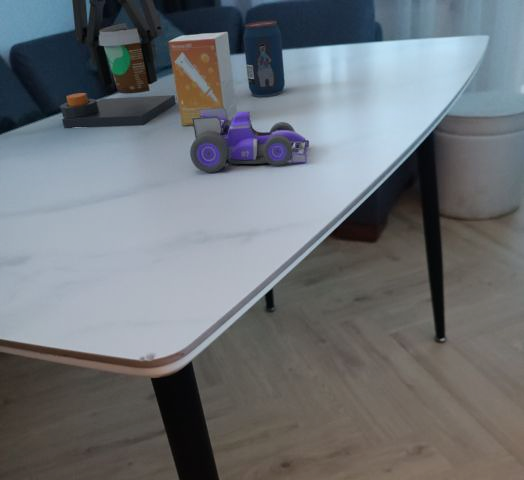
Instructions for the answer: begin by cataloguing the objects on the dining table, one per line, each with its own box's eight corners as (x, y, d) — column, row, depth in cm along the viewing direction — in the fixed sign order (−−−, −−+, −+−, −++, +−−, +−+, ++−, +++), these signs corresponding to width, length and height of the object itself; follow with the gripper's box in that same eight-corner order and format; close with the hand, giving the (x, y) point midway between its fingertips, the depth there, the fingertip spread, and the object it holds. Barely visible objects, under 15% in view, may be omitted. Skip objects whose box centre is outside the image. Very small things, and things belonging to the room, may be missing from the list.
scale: (58, 128, 109) (52, 108, 107) (98, 107, 120) (93, 89, 118) (143, 125, 104) (138, 104, 102) (176, 104, 115) (172, 84, 114)
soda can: (272, 87, 119) (266, 19, 112) (292, 91, 114) (287, 20, 107) (243, 94, 116) (235, 25, 109) (262, 99, 111) (254, 27, 104)
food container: (107, 87, 113) (92, 28, 107) (138, 81, 114) (125, 22, 108) (116, 99, 103) (100, 35, 97) (151, 92, 104) (137, 28, 99)
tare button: (65, 108, 108) (62, 98, 107) (75, 103, 111) (72, 93, 110) (82, 107, 107) (79, 97, 106) (92, 102, 110) (89, 92, 109)
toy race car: (306, 166, 76) (302, 114, 73) (193, 174, 79) (184, 123, 75) (309, 144, 84) (307, 96, 80) (206, 152, 86) (199, 105, 83)
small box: (181, 126, 100) (166, 41, 93) (195, 116, 105) (182, 34, 98) (226, 125, 98) (214, 37, 91) (238, 115, 103) (228, 30, 96)
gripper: (166, -77, 95) (190, 76, 108) (52, -61, 101) (88, 82, 114) (146, -76, 89) (175, 85, 102) (27, -59, 95) (68, 91, 108)
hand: (129, 83), depth 108 cm, fingers closed on food container, 8 cm apart
